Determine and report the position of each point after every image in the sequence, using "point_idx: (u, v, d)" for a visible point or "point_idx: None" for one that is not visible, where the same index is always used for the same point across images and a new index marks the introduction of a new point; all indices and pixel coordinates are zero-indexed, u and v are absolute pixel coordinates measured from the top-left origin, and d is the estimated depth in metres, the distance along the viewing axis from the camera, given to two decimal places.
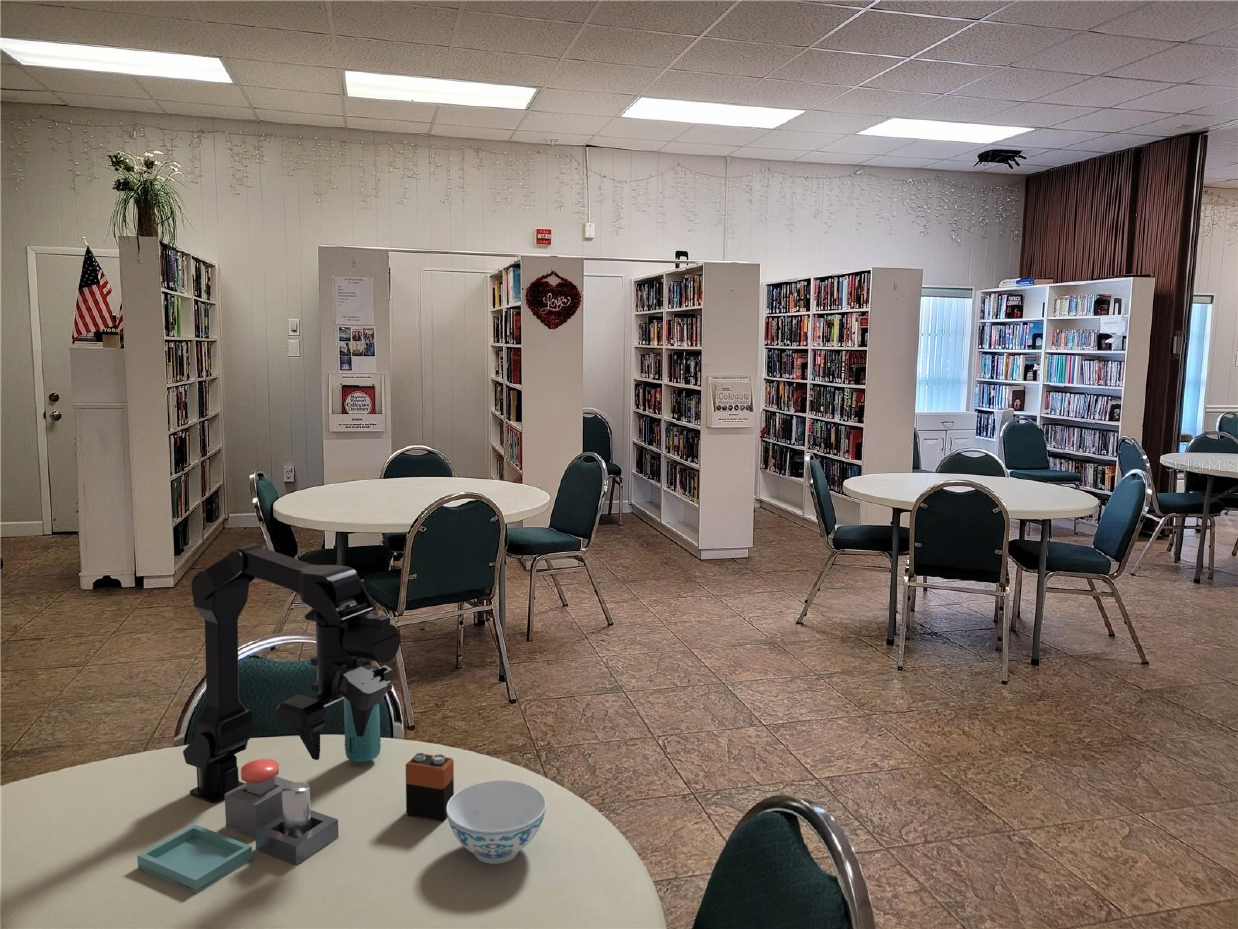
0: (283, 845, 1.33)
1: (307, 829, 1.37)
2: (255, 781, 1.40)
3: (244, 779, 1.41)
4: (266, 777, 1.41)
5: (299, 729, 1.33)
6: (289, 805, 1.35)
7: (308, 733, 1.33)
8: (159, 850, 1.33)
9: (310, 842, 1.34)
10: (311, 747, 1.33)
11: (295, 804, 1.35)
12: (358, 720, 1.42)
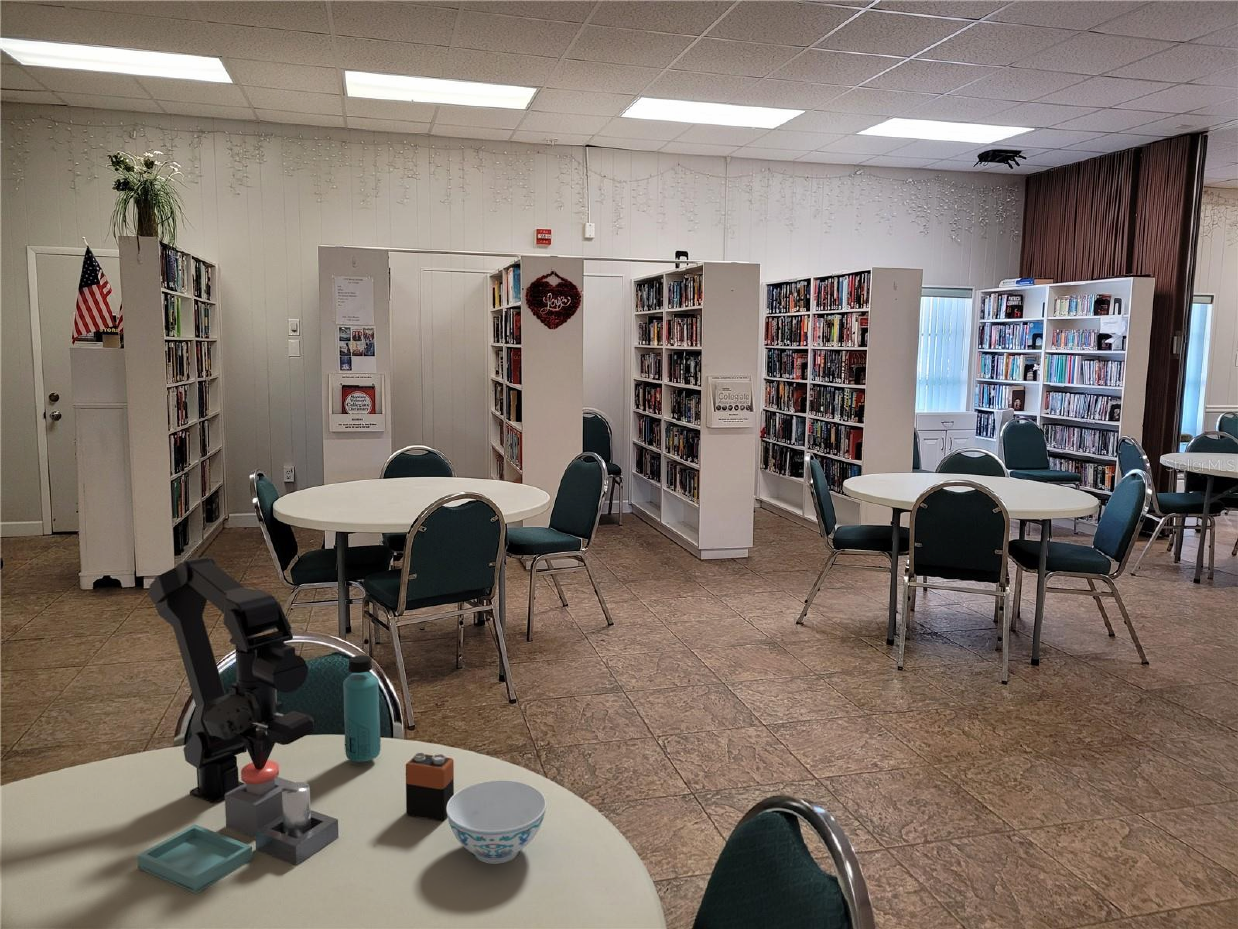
0: (283, 845, 1.33)
1: (307, 829, 1.37)
2: (255, 782, 1.40)
3: (244, 780, 1.41)
4: (266, 778, 1.41)
5: None
6: (289, 805, 1.35)
7: None
8: (159, 850, 1.33)
9: (310, 842, 1.34)
10: None
11: (295, 804, 1.35)
12: None
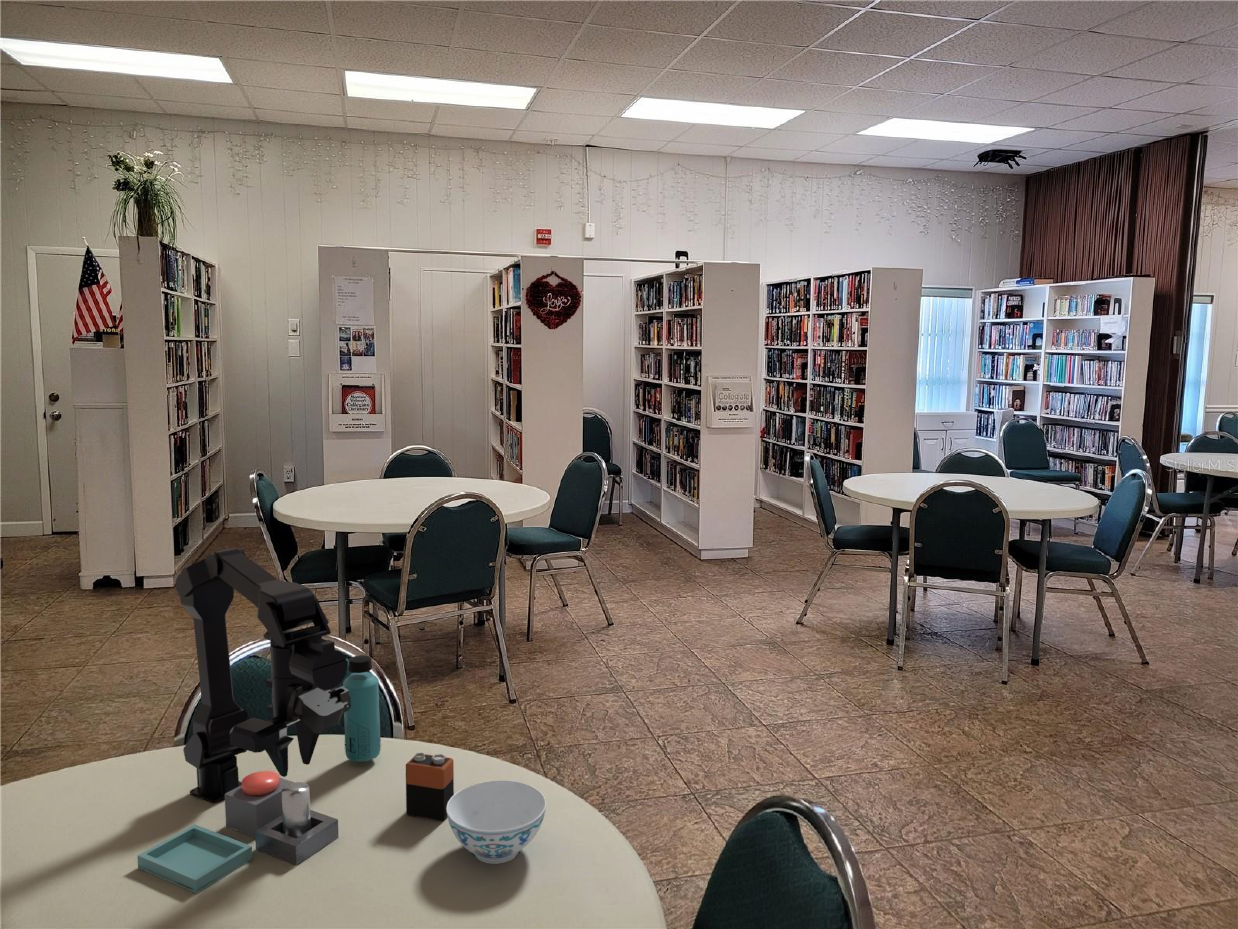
0: (283, 845, 1.33)
1: (307, 829, 1.37)
2: (255, 793, 1.41)
3: (245, 791, 1.41)
4: (266, 789, 1.41)
5: None
6: (288, 805, 1.35)
7: (276, 750, 1.33)
8: (159, 850, 1.33)
9: (310, 842, 1.34)
10: (279, 764, 1.33)
11: (295, 804, 1.35)
12: (304, 748, 1.38)
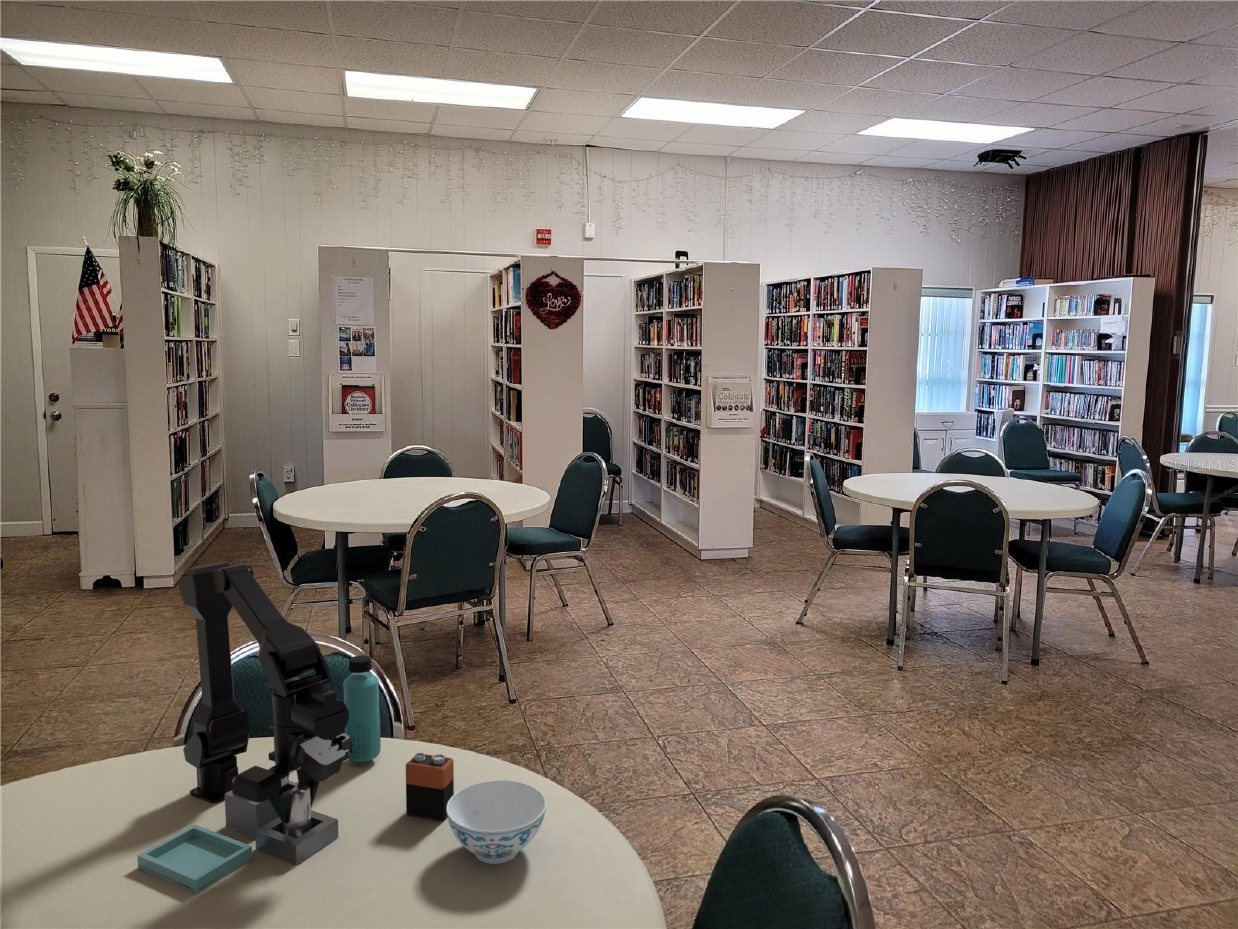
0: (283, 845, 1.33)
1: (307, 829, 1.37)
2: None
3: None
4: None
5: None
6: None
7: (278, 797, 1.34)
8: (159, 850, 1.33)
9: (310, 842, 1.34)
10: (281, 811, 1.34)
11: (296, 804, 1.35)
12: None
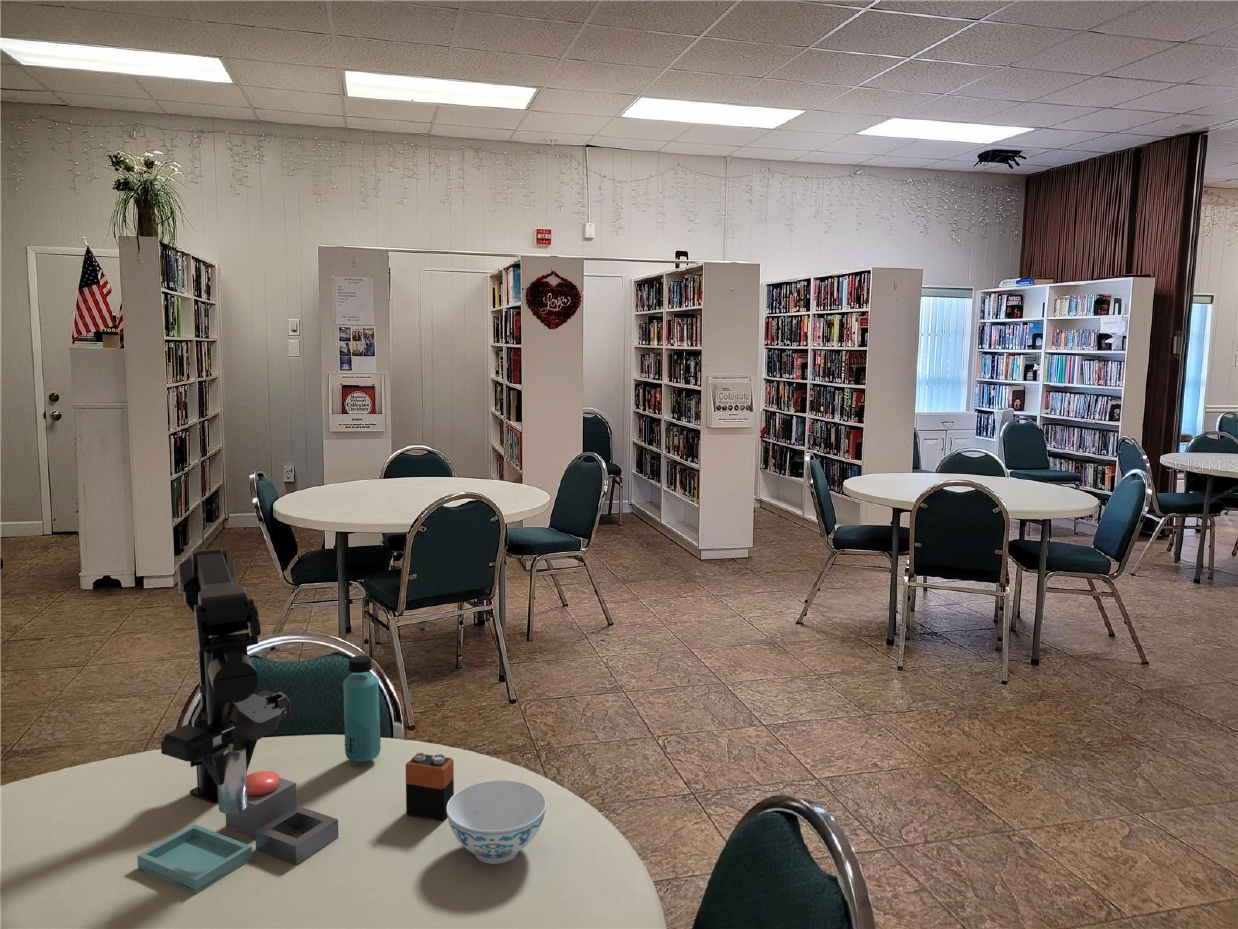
0: (283, 845, 1.33)
1: (243, 791, 1.32)
2: (255, 793, 1.41)
3: None
4: (266, 789, 1.41)
5: None
6: None
7: (211, 758, 1.29)
8: (159, 850, 1.33)
9: (310, 842, 1.34)
10: (214, 772, 1.30)
11: (230, 765, 1.30)
12: None
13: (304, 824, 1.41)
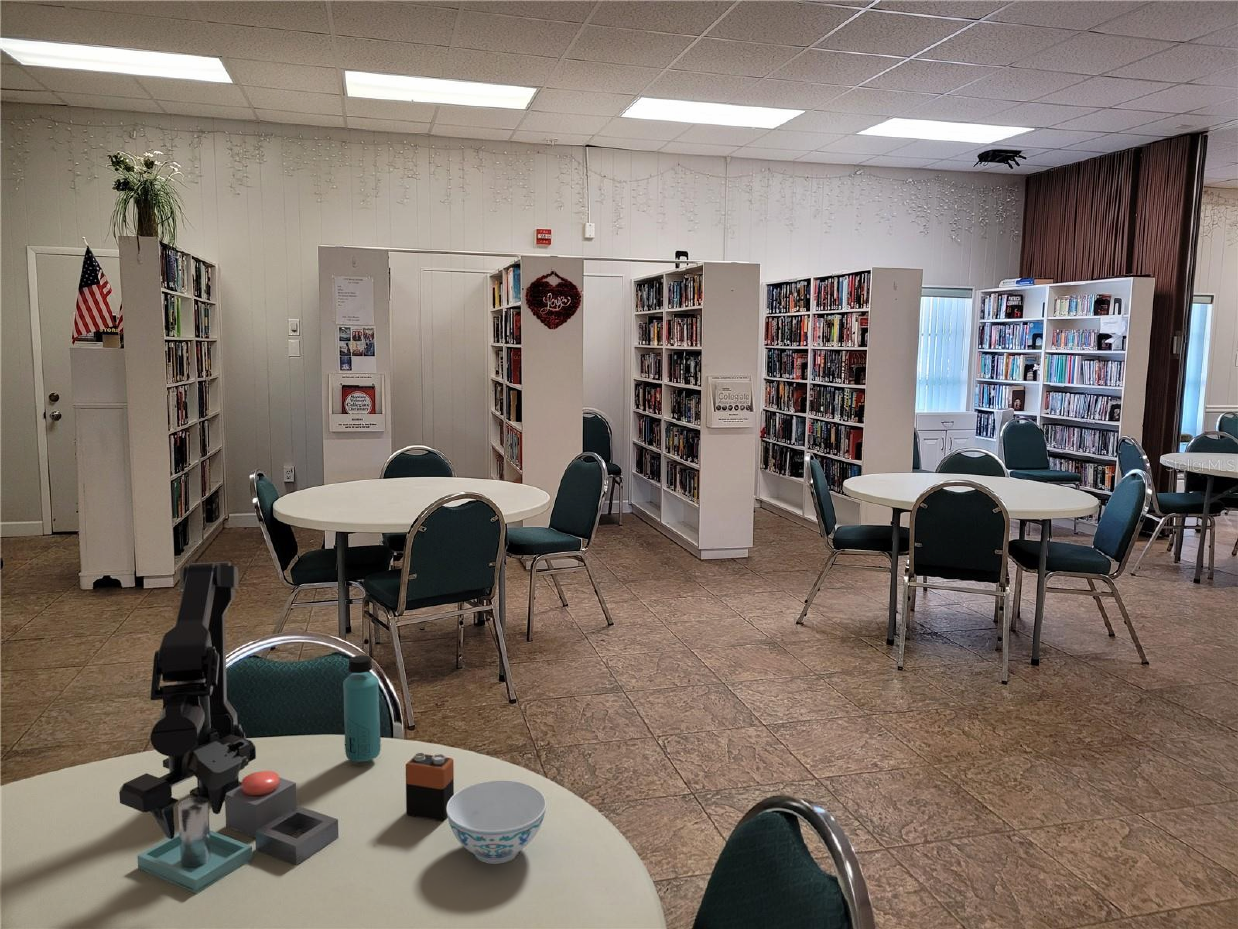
0: (283, 845, 1.33)
1: (205, 845, 1.31)
2: (255, 793, 1.41)
3: (245, 791, 1.41)
4: (266, 789, 1.41)
5: None
6: (184, 821, 1.29)
7: (161, 812, 1.26)
8: (159, 850, 1.33)
9: (310, 842, 1.34)
10: (164, 826, 1.27)
11: (191, 819, 1.29)
12: (214, 797, 1.35)
13: (304, 824, 1.41)
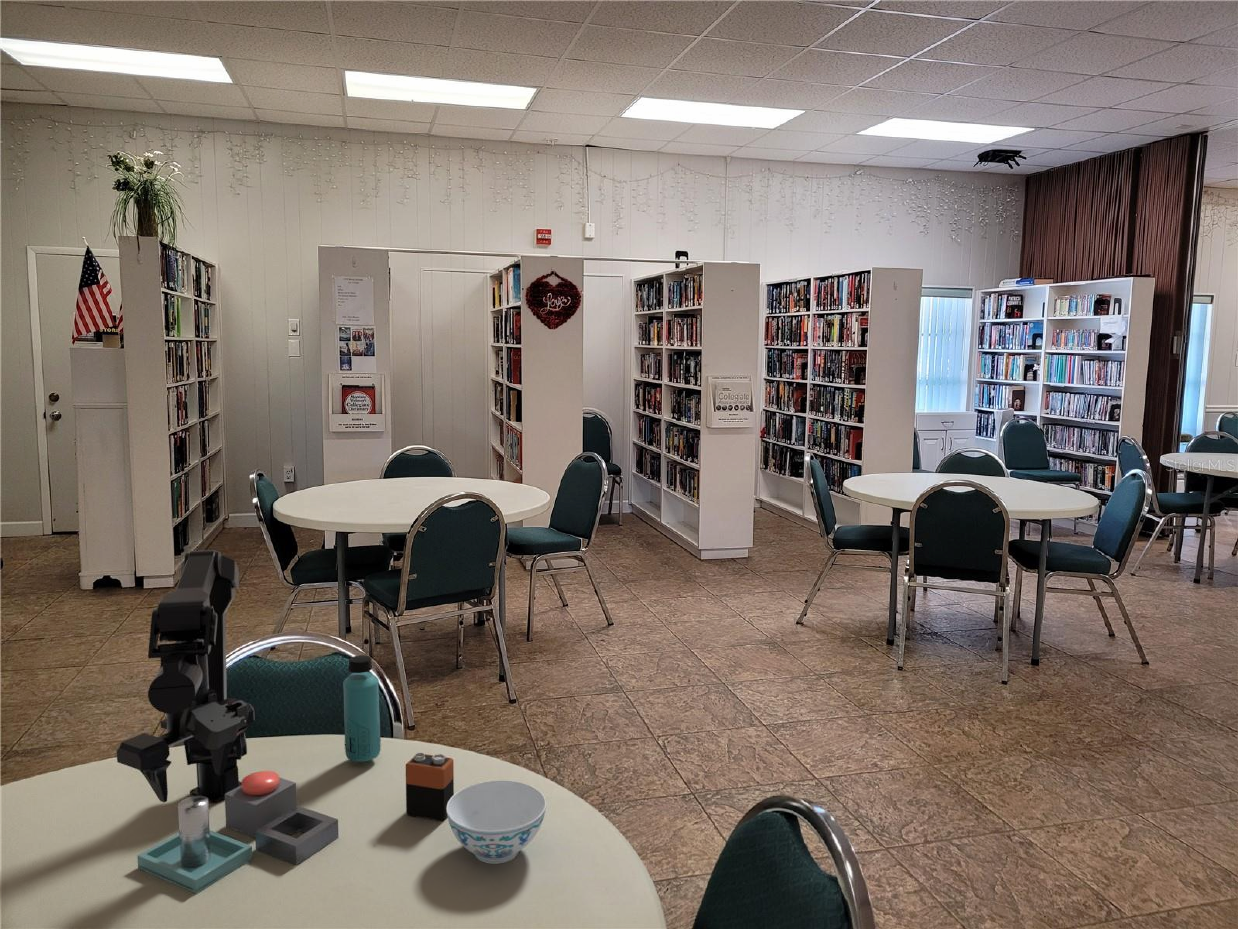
0: (283, 845, 1.33)
1: (205, 845, 1.31)
2: (255, 793, 1.41)
3: (245, 791, 1.41)
4: (266, 789, 1.41)
5: (144, 770, 1.25)
6: (184, 820, 1.29)
7: (153, 774, 1.25)
8: (159, 850, 1.33)
9: (310, 842, 1.34)
10: (157, 789, 1.25)
11: (191, 818, 1.29)
12: (216, 757, 1.34)
13: (304, 824, 1.41)
